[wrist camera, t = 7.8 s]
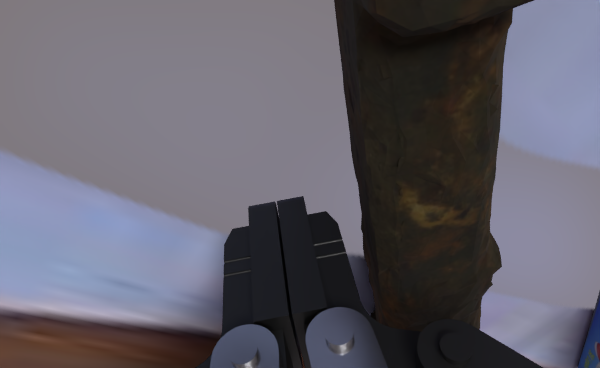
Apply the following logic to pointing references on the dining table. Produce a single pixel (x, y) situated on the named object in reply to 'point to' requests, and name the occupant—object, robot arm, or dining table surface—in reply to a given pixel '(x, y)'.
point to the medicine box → (592, 342)
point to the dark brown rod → (425, 149)
